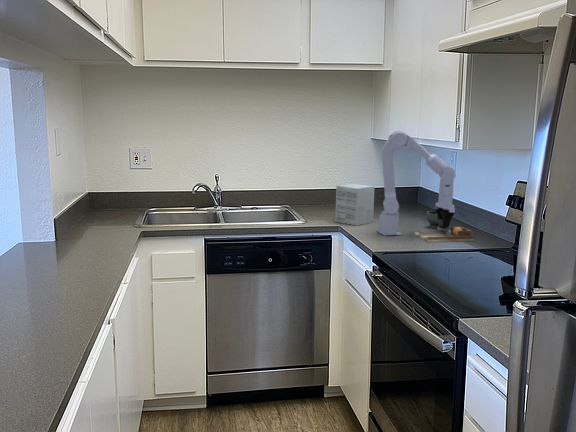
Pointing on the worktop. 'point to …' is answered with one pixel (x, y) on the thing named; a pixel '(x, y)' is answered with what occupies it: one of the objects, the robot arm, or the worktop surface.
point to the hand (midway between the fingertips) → (443, 226)
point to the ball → (456, 230)
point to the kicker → (448, 232)
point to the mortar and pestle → (433, 219)
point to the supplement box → (354, 204)
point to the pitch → (444, 235)
